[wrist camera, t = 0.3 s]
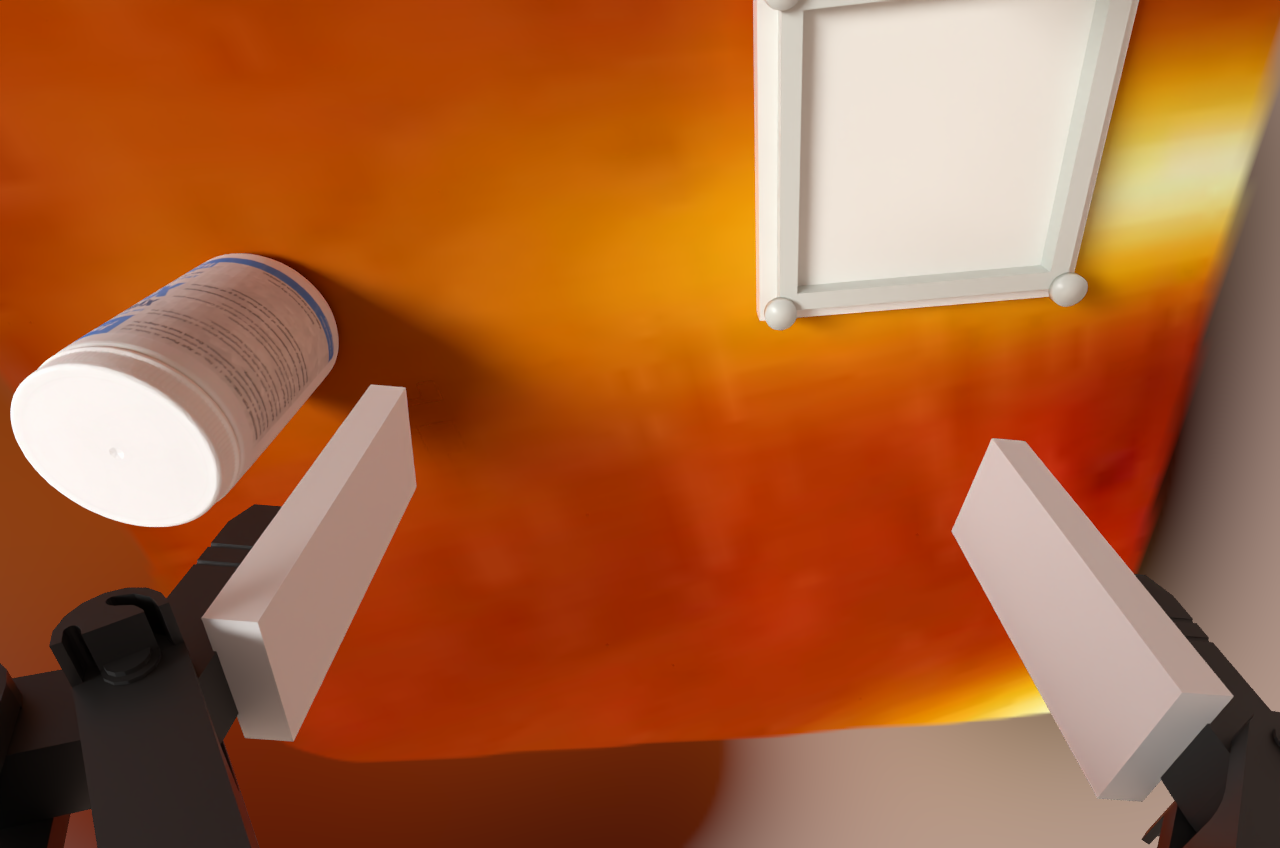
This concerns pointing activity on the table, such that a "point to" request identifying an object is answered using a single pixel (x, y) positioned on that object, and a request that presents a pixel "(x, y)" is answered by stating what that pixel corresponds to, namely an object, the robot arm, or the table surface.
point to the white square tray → (927, 149)
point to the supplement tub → (177, 391)
